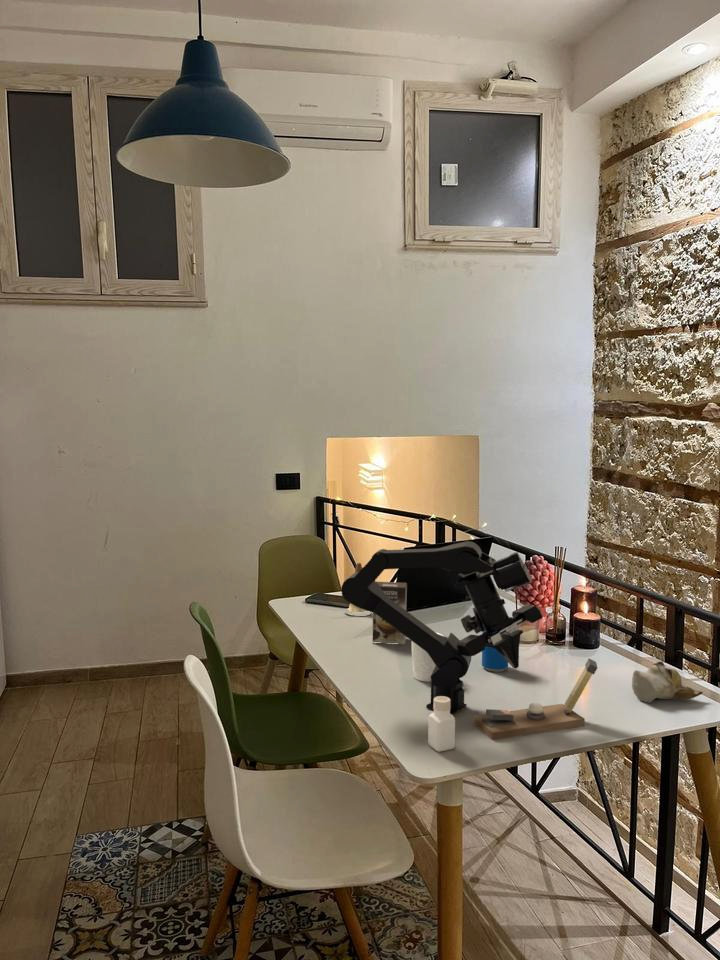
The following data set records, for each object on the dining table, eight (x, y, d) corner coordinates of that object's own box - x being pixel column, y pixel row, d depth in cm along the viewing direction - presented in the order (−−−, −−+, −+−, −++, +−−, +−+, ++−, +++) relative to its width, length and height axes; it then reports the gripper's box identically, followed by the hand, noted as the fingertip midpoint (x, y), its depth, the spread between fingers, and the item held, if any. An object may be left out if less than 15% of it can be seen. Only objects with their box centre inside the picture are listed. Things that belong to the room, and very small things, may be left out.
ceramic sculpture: (619, 655, 168) (672, 652, 173) (615, 692, 169) (668, 688, 174) (652, 672, 158) (707, 668, 163) (648, 711, 159) (703, 706, 164)
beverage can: (489, 661, 189) (490, 615, 188) (512, 667, 185) (513, 620, 184) (476, 668, 184) (477, 621, 183) (500, 674, 180) (501, 626, 179)
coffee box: (371, 644, 203) (372, 586, 201) (374, 636, 209) (374, 580, 208) (405, 645, 202) (405, 587, 200) (406, 638, 208) (407, 581, 207)
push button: (526, 709, 153) (526, 704, 153) (537, 708, 154) (537, 702, 154) (533, 714, 151) (533, 709, 150) (544, 713, 151) (544, 707, 151)
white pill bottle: (437, 753, 139) (438, 704, 138) (427, 744, 143) (427, 697, 142) (455, 749, 141) (456, 701, 140) (444, 740, 145) (445, 693, 144)
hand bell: (372, 610, 237) (373, 560, 235) (369, 617, 229) (369, 566, 227) (347, 609, 238) (347, 560, 236) (343, 616, 230) (342, 565, 228)
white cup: (409, 671, 182) (409, 631, 181) (441, 671, 182) (442, 631, 182) (412, 683, 175) (412, 641, 174) (445, 683, 175) (446, 641, 174)
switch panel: (473, 723, 152) (473, 713, 152) (561, 710, 159) (562, 700, 159) (492, 740, 145) (492, 729, 145) (584, 725, 151) (584, 715, 151)
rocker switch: (485, 714, 150) (486, 708, 150) (505, 714, 152) (506, 709, 152) (491, 719, 147) (493, 713, 147) (512, 720, 149) (513, 714, 149)
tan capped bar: (562, 712, 153) (590, 664, 151) (562, 705, 157) (588, 658, 154) (569, 716, 153) (597, 667, 151) (569, 709, 156) (596, 661, 154)
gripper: (503, 581, 167) (531, 645, 166) (434, 617, 160) (463, 684, 160) (528, 580, 156) (558, 648, 156) (455, 619, 150) (486, 690, 150)
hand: (516, 667), depth 156 cm, fingers closed
